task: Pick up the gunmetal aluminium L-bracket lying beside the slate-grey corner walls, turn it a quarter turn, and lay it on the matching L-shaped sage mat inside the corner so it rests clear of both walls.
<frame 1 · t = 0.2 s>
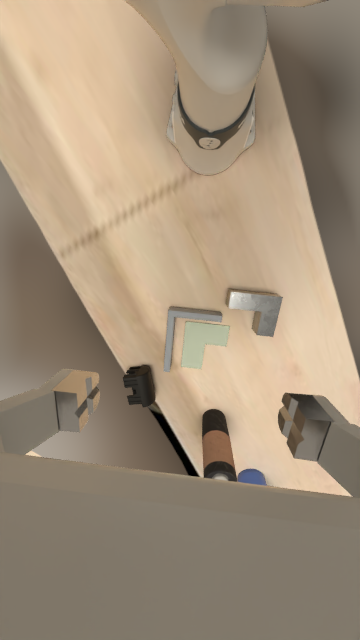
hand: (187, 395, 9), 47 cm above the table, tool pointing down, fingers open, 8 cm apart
corner walls: (193, 345, 60), on the table
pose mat: (193, 345, 60), on the table
end cap: (143, 378, 64), on the table
water bottle: (250, 478, 73), on the table
travel mug: (213, 417, 66), on the table
bracket: (249, 298, 55), on the table
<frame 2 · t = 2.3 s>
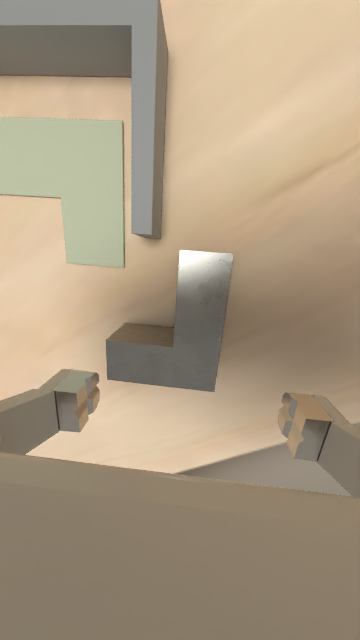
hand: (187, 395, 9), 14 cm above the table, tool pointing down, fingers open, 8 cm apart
corner walls: (49, 160, 19), on the table
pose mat: (49, 160, 19), on the table
bracket: (198, 312, 22), on the table
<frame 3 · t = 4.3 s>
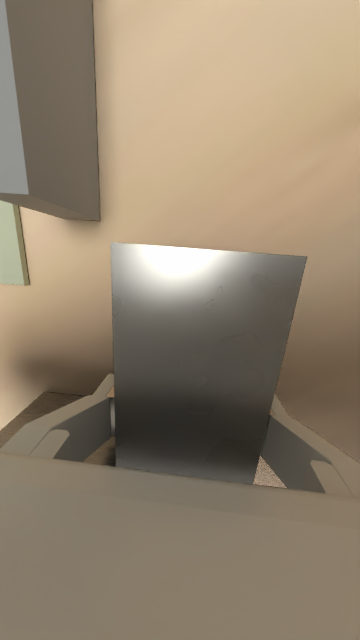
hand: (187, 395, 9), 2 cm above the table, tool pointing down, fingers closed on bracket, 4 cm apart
bracket: (189, 375, 11), on the table, touching gripper
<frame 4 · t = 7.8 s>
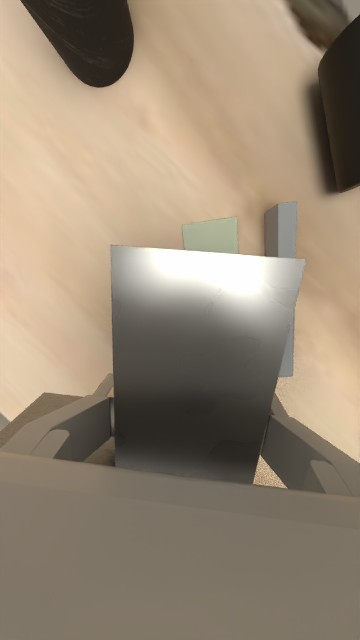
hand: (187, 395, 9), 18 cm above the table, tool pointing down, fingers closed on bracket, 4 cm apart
corner walls: (213, 284, 25), on the table
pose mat: (213, 284, 25), on the table
end cap: (347, 134, 20), on the table
travel mug: (98, 42, 20), on the table
bracket: (189, 376, 11), point 16 cm above the table, touching gripper
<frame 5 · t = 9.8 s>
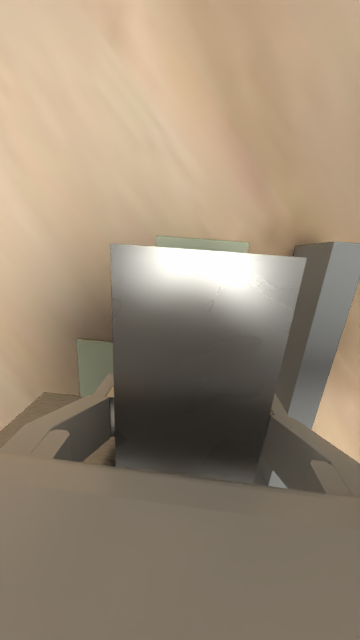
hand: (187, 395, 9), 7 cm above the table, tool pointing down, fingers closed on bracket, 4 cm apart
corner walls: (192, 337, 16), on the table
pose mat: (192, 337, 16), on the table
bracket: (189, 375, 11), point 5 cm above the table, touching gripper
when the fingers open (3 cm above the table, at t = 11.3 s): bracket drops 1 cm, resting on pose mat.
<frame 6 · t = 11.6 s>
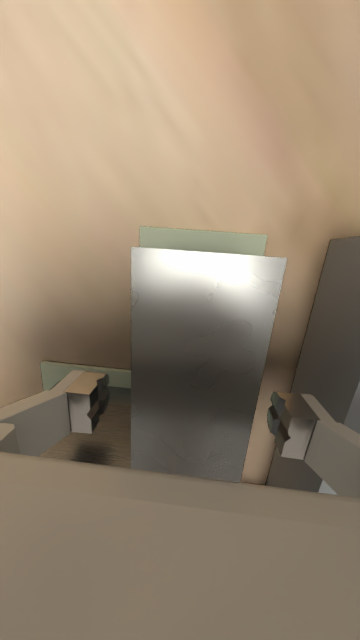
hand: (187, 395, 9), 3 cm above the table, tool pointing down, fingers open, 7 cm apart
corner walls: (190, 361, 12), on the table
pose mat: (190, 361, 12), on the table
bracket: (191, 364, 12), resting on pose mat
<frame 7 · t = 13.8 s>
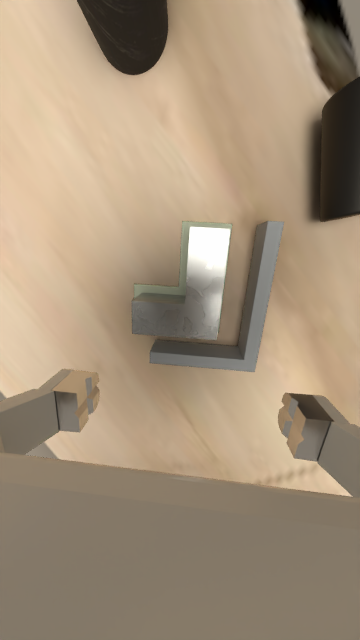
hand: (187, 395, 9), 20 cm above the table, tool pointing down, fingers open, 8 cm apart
corner walls: (201, 280, 28), on the table
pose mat: (201, 280, 28), on the table
end cap: (338, 171, 23), on the table
travel mug: (132, 30, 21), on the table
bracket: (202, 281, 27), resting on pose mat
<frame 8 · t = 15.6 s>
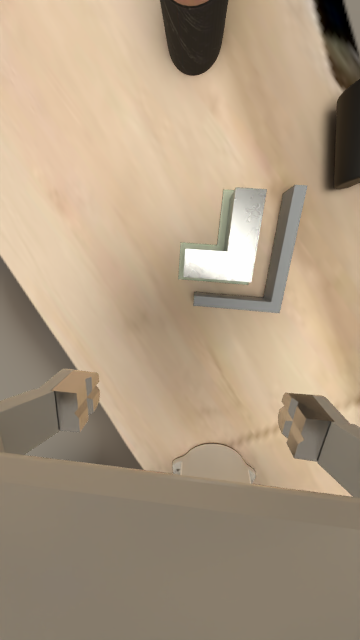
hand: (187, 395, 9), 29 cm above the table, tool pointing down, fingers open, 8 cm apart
corner walls: (236, 240, 34), on the table
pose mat: (236, 240, 34), on the table
end cap: (348, 150, 30), on the table
travel mug: (194, 42, 28), on the table
bracket: (237, 240, 34), resting on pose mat
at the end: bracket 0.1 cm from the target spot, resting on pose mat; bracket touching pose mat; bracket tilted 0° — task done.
